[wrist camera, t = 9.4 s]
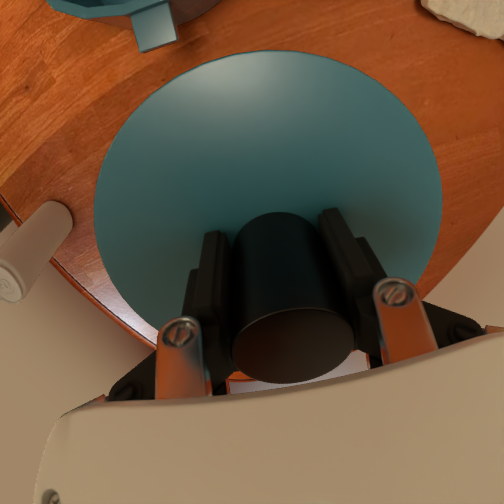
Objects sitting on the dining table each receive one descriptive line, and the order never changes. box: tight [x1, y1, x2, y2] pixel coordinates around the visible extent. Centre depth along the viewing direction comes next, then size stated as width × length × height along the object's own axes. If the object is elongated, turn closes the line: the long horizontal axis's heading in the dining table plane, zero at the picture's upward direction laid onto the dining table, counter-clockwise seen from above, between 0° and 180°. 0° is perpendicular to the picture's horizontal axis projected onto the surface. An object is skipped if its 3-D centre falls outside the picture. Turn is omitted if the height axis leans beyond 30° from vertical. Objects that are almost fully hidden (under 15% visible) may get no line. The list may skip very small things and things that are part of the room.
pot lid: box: [94, 50, 442, 384], centre depth 10 cm, size 15×15×6 cm
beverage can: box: [0, 201, 73, 305], centre depth 24 cm, size 5×5×12 cm
